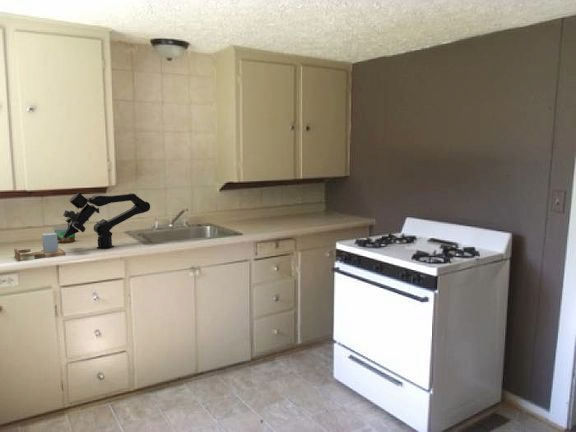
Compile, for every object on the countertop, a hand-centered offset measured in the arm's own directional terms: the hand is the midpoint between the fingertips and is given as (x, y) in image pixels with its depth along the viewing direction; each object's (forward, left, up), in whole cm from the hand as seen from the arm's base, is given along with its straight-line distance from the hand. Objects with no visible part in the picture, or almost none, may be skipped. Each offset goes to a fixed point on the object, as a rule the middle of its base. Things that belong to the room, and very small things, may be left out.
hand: (63, 237), depth 242 cm
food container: (+17, -23, -8) cm, 30 cm away
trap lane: (+8, +9, -8) cm, 15 cm away
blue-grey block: (+4, +5, -6) cm, 9 cm away
